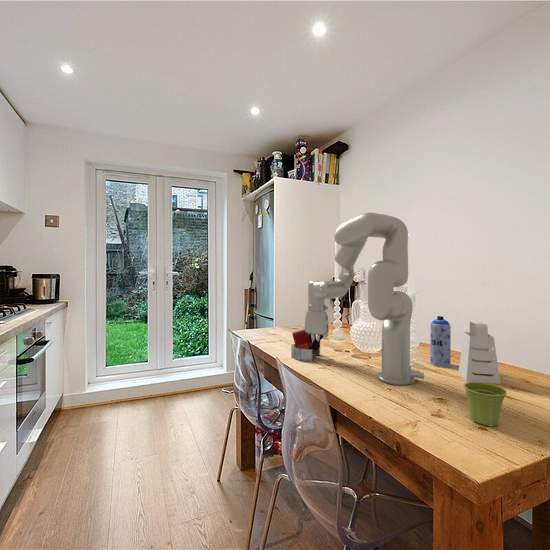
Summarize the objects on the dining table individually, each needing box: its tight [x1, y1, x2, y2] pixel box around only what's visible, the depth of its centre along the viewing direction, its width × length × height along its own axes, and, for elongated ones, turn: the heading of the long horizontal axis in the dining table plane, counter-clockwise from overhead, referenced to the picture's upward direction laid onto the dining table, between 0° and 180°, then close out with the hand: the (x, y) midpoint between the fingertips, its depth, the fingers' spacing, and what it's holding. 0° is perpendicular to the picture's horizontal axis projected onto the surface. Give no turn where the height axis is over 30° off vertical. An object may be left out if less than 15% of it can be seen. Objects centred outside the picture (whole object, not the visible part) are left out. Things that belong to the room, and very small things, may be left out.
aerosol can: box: [429, 315, 452, 368], centre depth 137 cm, size 8×8×20 cm
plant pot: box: [463, 382, 508, 426], centre depth 86 cm, size 9×9×9 cm
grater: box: [457, 321, 501, 385], centre depth 120 cm, size 10×10×20 cm
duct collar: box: [290, 343, 321, 362], centre depth 150 cm, size 11×13×5 cm
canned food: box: [291, 328, 315, 353], centre depth 151 cm, size 8×8×11 cm
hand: (316, 349), depth 148 cm, fingers closed
